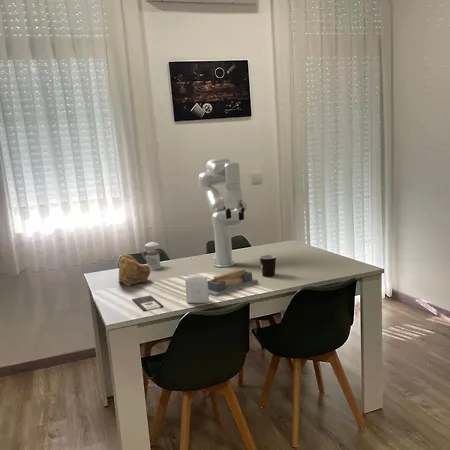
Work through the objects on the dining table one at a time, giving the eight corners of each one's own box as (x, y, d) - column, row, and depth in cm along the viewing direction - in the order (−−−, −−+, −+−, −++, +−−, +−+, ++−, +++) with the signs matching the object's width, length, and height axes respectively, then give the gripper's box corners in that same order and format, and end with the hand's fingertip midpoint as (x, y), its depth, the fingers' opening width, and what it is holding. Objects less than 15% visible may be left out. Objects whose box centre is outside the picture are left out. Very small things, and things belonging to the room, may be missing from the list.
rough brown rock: (151, 288, 235) (151, 259, 233) (118, 289, 231) (117, 260, 229) (148, 277, 257) (148, 251, 255) (118, 278, 253) (118, 252, 252)
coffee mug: (276, 277, 236) (275, 258, 234) (259, 277, 238) (258, 259, 236) (278, 271, 247) (277, 253, 245) (262, 271, 249) (261, 253, 247)
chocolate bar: (150, 295, 219) (163, 305, 203) (150, 297, 219) (163, 307, 203) (132, 299, 215) (143, 310, 199) (132, 301, 215) (143, 312, 199)
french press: (157, 269, 266) (153, 227, 262) (139, 269, 270) (135, 227, 265) (164, 265, 275) (161, 224, 271) (147, 264, 279) (143, 224, 275)
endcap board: (202, 292, 220) (201, 281, 219) (243, 278, 238) (243, 268, 237) (215, 296, 212) (215, 285, 212) (257, 281, 231) (257, 271, 230)
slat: (214, 288, 220) (213, 276, 219) (241, 279, 232) (240, 268, 231) (218, 289, 218) (217, 277, 217) (245, 280, 230) (244, 269, 229)
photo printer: (209, 300, 208) (208, 274, 206) (208, 303, 204) (206, 276, 202) (187, 300, 210) (185, 274, 207) (185, 303, 205) (183, 277, 203)
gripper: (216, 187, 241) (218, 219, 244) (239, 187, 228) (241, 221, 231) (227, 185, 246) (229, 216, 249) (250, 186, 233) (251, 219, 236)
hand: (235, 219), depth 240 cm, fingers open, 9 cm apart
